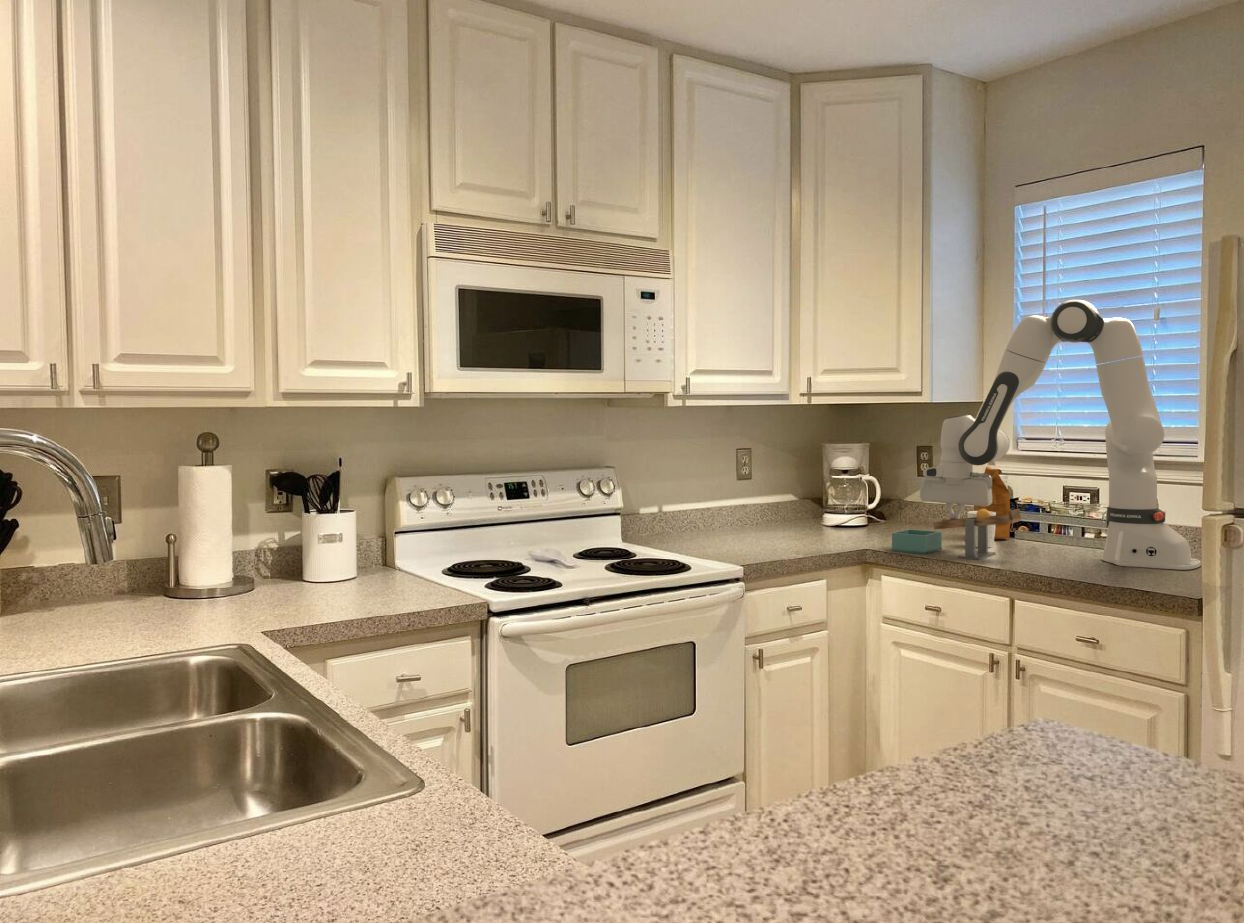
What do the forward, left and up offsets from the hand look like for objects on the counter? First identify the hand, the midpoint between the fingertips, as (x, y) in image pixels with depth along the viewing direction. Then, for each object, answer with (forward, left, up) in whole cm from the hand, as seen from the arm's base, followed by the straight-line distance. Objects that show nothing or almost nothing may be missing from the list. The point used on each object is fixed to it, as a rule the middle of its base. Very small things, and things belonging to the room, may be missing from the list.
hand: (954, 519), depth 272 cm
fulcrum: (-9, +6, -9) cm, 14 cm away
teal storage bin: (+8, +6, -9) cm, 14 cm away
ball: (-11, +6, +3) cm, 13 cm away
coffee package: (+1, -29, -9) cm, 30 cm away
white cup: (-3, -12, -9) cm, 15 cm away
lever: (-9, +3, 0) cm, 10 cm away
